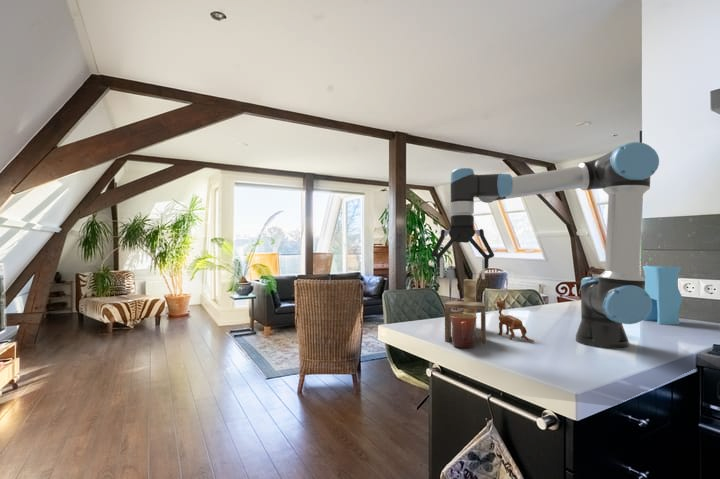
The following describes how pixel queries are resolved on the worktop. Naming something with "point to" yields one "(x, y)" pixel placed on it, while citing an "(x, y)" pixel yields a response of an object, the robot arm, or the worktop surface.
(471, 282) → the wooden stepped block
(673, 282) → the blue arched block
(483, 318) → the brown wooden frame
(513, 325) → the orange brown animal figurine
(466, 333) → the mug
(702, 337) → the worktop surface
